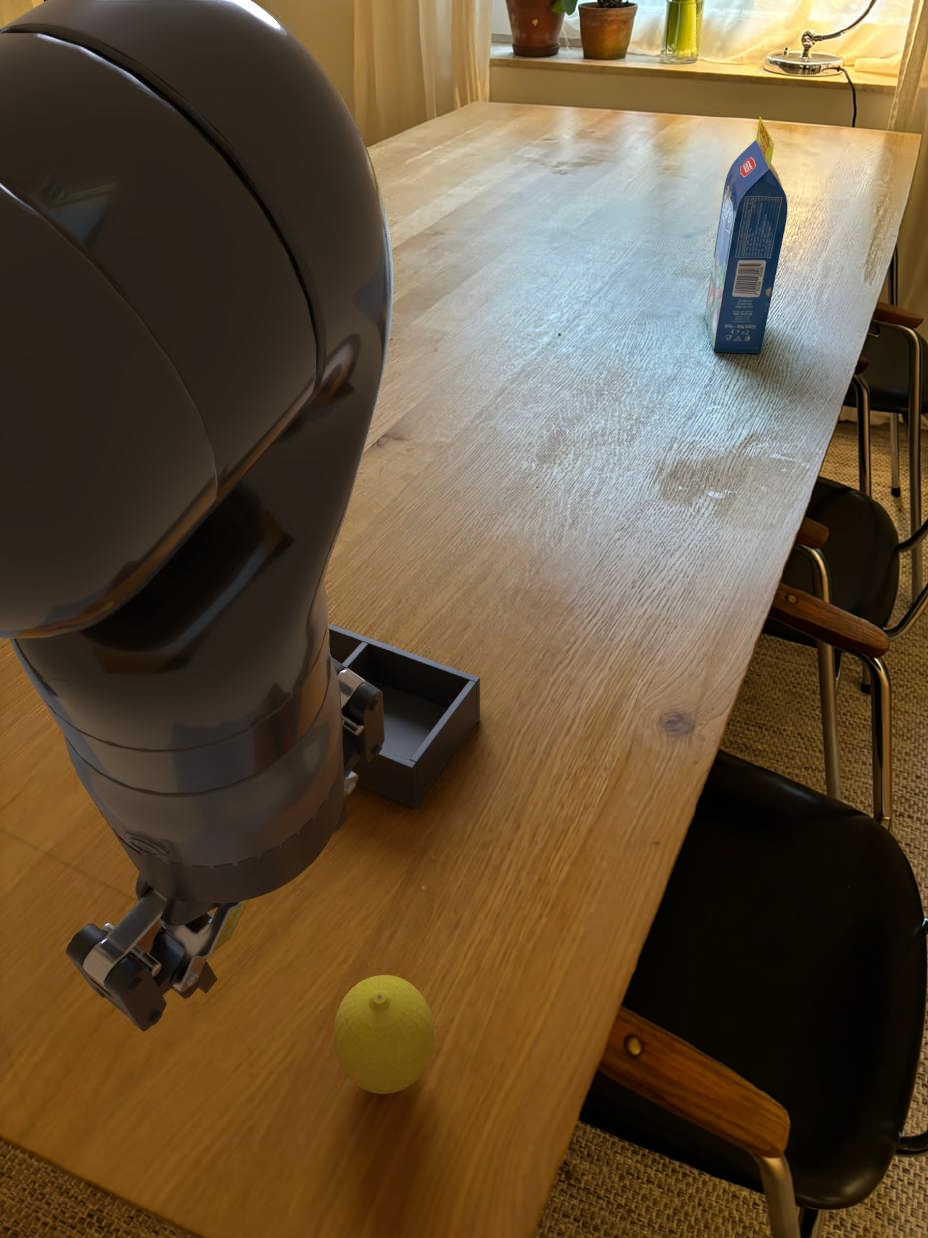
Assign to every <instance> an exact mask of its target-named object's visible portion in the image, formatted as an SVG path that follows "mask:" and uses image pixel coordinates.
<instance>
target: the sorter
mask: <svg viewBox="0 0 928 1238" xmlns="http://www.w3.org/2000/svg"><path fill="white" fill-rule="evenodd" d="M328 624H329V644H330V655H331V657H332V658H333V659H335V660H336V661H338V662H339V663H341V664H342V665H344V666H345V667H347V668H348V669H350V670H351V671H352V672H354V673H355V674H357V675H358V676H360V677H361V678H363V679H364V680H366V681H367V682H369V683H370V684H371V685H373V686H374V687H376V688H377V689H379V690H380V691H382V692H383V710H384V736H385V740H384V743H383V745H382V750H381V751H380V753H379V754H378V755H377V756H374V758H373V759H371V760H370V761H367V760H365V759H364V758H362V757H360V759H359V760H358V762H357V763H356V765H355V766H354V768H353V770H352V771H353V772H354V773H355V774H357V775H358V780H357V782H356V786H359V787H361V788H364V789H365V790H367V791H370V792H373V793H375V794H377V795H379V796H382V797H384V798H387V799H390V800H392V801H394V802H396V803H399V804H401V805H404V806H406V807H408V808H411V809H413V810H416V809H417V808H418V806H419V805H420V804H421V802H422V801H423V799H424V798H425V796H426V795H427V794H428V792H429V791H430V790H431V788H432V787H433V785H434V784H435V783H436V781H437V780H438V778H439V777H440V775H441V774H442V773H443V771H444V770H445V768H446V767H447V766H448V764H449V763H450V761H451V760H452V759H453V757H454V756H455V754H456V753H457V752H458V750H459V749H460V747H461V746H462V745H463V743H464V742H465V741H466V739H467V738H468V737H469V736H470V733H471V732H472V731H473V729H474V728H475V727H476V725H477V723H478V722H479V721H480V720H481V677H480V676H476V675H473V674H472V673H468V672H465V671H462V670H460V669H456V668H455V667H451V666H449V665H445V664H443V663H441V662H438V661H436V660H435V661H434V660H432V659H429V658H426V657H424V656H421V655H418V654H415V653H413V652H411V651H406V650H404V649H401V648H399V647H396V646H394V645H390V644H387V643H384V642H382V641H379V640H376V639H373V638H371V637H368V636H366V635H362V634H359V633H357V632H354V631H351V630H348V629H345V628H343V627H341V626H338V625H335V624H331V623H329V622H328Z"/></svg>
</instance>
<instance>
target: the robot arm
mask: <svg viewBox="0 0 928 1238" xmlns="http://www.w3.org/2000/svg"><path fill="white" fill-rule="evenodd" d="M386 211H387V210H386V204H385V200H384V197H383V194H382V189H381V186H380V181H379V179H378V176H377V173H376V171H375V167H374V165H373V161H372V159H371V156H370V154H369V150H368V147H367V145H366V142H365V140H364V138H363V135H362V133H361V131H360V128H359V127H358V124H357V121H356V119H355V117H354V116H353V114H352V112H351V110H350V108H349V107H348V105H347V103H346V101H345V99H344V98H343V96H342V95H341V93H340V92H339V90H338V88H337V87H336V86H335V84H334V82H333V81H332V79H331V78H330V76H329V75H328V74H327V72H326V71H325V69H324V68H323V67H322V65H321V63H319V61H318V60H317V59H316V58H315V56H314V54H312V52H311V51H310V50H309V48H307V46H306V45H305V44H304V43H303V42H302V41H301V39H299V38H298V37H297V36H296V34H294V33H293V31H292V30H291V29H290V28H289V27H288V26H287V25H286V24H284V23H283V22H282V21H281V20H279V19H278V18H277V17H276V16H275V15H273V14H272V13H271V12H270V11H268V10H267V9H265V8H264V7H262V6H261V5H259V4H257V3H256V2H255V1H253V0H45V1H44V2H41V3H40V4H38V5H36V6H34V7H33V8H31V9H29V10H28V11H26V12H25V13H23V14H22V15H20V16H19V17H17V18H15V19H13V20H12V21H10V22H9V23H7V24H6V25H4V26H2V27H1V28H0V639H3V640H4V639H7V640H8V639H9V642H10V645H11V648H12V650H13V652H14V654H15V655H16V657H17V659H18V661H19V663H20V665H21V667H22V669H23V670H24V672H25V674H26V675H27V677H28V679H29V680H30V682H31V683H32V685H33V687H34V689H35V691H36V692H37V693H38V695H39V696H40V698H41V700H42V702H43V703H44V706H45V707H46V708H47V710H48V711H49V713H50V715H51V716H52V718H53V719H54V721H55V723H56V724H57V726H58V728H59V729H60V731H61V732H62V736H63V740H64V744H65V746H66V750H67V754H68V757H69V759H70V762H71V764H72V766H73V768H74V771H75V773H76V775H77V777H78V779H79V781H80V783H81V784H82V786H83V787H84V789H85V790H86V792H87V793H88V795H89V797H90V798H91V800H92V802H93V804H94V805H95V806H96V808H97V809H98V811H99V812H100V814H101V816H102V817H103V819H104V820H105V822H106V823H107V825H108V827H109V828H110V829H111V831H112V833H113V834H114V835H115V838H116V839H117V840H118V842H119V844H120V845H121V847H122V848H123V850H124V851H125V853H126V855H127V856H128V857H129V859H130V861H131V862H132V864H133V865H134V867H135V868H136V870H137V871H138V875H137V879H136V883H135V895H136V898H137V903H136V904H135V905H134V906H132V908H131V909H129V910H128V912H127V913H126V914H125V915H124V916H123V917H122V919H121V920H120V921H119V922H117V924H116V925H114V924H113V923H112V922H106V923H105V924H103V926H101V927H99V926H97V925H96V924H95V923H94V922H91V923H88V924H86V925H85V926H83V927H82V928H81V929H79V930H78V931H76V933H75V934H74V935H73V937H72V938H71V939H70V941H69V943H68V945H67V947H66V949H65V954H66V956H67V957H68V958H69V960H70V961H71V962H72V964H73V965H74V967H75V968H76V969H77V971H78V972H79V973H80V975H81V976H82V977H83V979H84V980H85V981H86V982H87V984H88V985H89V987H90V988H91V989H92V991H93V992H95V993H96V994H97V995H98V996H100V997H101V998H102V999H106V1000H107V1001H108V1002H109V1003H111V1004H112V1005H113V1007H115V1008H116V1009H118V1010H119V1011H120V1012H121V1013H122V1014H123V1015H124V1016H126V1017H127V1018H128V1019H129V1020H130V1021H131V1022H132V1024H133V1025H134V1026H135V1027H137V1028H138V1029H139V1030H140V1031H141V1032H143V1033H144V1032H147V1031H148V1030H149V1029H150V1028H152V1027H153V1026H155V1025H156V1024H157V1023H159V1021H160V1020H161V1019H162V1017H163V1016H164V1015H163V1013H164V1011H165V1009H166V1007H167V1005H168V1003H167V1001H166V999H165V997H164V995H166V993H167V992H169V991H170V990H172V991H174V992H175V993H176V994H178V995H179V996H180V997H181V998H182V999H184V1000H186V999H189V998H191V997H192V996H193V994H194V993H196V991H197V990H198V989H199V990H200V991H202V992H203V993H204V994H207V993H208V992H209V991H210V990H211V989H212V987H214V985H215V984H216V983H217V981H218V977H217V976H216V974H215V972H214V971H213V969H212V967H211V966H210V964H209V962H208V961H207V960H208V958H209V957H210V956H211V955H213V954H214V953H215V952H216V951H218V950H219V949H220V948H221V947H222V946H223V945H225V944H226V943H227V942H228V941H229V940H230V939H231V938H232V936H233V934H234V932H235V930H236V927H237V925H238V923H239V921H240V919H241V916H242V915H243V913H244V911H245V908H246V906H247V904H248V902H249V900H253V899H256V898H259V897H263V896H265V895H268V894H270V893H272V892H274V891H277V890H279V889H280V888H283V887H285V886H286V885H288V884H289V883H290V882H292V881H293V880H295V879H296V878H298V877H299V876H300V875H302V874H303V873H304V872H305V871H306V870H307V869H308V868H309V867H310V866H311V865H313V863H314V862H315V861H316V860H317V858H319V857H320V855H321V853H322V852H323V851H324V850H325V848H326V847H327V845H328V843H329V842H330V841H331V838H332V837H333V834H334V833H337V832H339V831H340V829H342V827H343V825H344V824H345V823H346V822H347V821H348V803H349V801H350V795H351V794H352V793H353V791H354V790H355V789H356V787H357V785H356V782H357V780H358V775H357V774H355V773H354V772H353V771H352V770H353V768H354V766H355V765H356V763H357V762H358V760H359V759H360V757H362V758H364V759H365V760H367V761H370V760H371V759H373V758H374V756H377V755H378V754H379V753H380V751H381V750H382V745H383V743H384V740H385V736H384V710H383V692H382V691H380V690H379V689H377V688H376V687H374V686H373V685H371V684H370V683H369V682H367V681H366V680H364V679H363V678H361V677H360V676H358V675H357V674H355V673H354V672H352V671H351V670H350V669H348V668H347V667H345V666H344V665H342V664H341V663H339V662H338V661H336V660H335V659H333V658H332V657H331V655H330V644H329V624H330V623H329V609H328V608H329V607H328V596H327V595H328V594H327V590H326V584H325V581H326V576H327V573H328V572H327V571H328V569H329V568H328V567H329V564H330V562H331V561H330V560H331V558H332V554H333V552H334V550H335V546H336V544H337V542H338V541H337V540H338V538H339V536H340V533H341V530H342V527H343V524H344V521H345V519H346V516H347V513H348V510H349V507H350V504H351V499H352V495H353V493H354V488H355V484H356V480H357V476H358V473H359V469H360V466H361V461H362V458H363V455H364V451H365V447H366V443H367V441H368V436H369V433H370V429H371V425H372V422H373V417H374V414H375V410H376V407H377V402H378V399H379V393H380V390H381V385H382V380H383V376H384V372H385V366H386V363H387V362H386V361H387V356H388V351H389V344H390V338H391V330H392V318H393V317H392V316H393V301H394V264H393V263H394V262H393V251H392V242H391V234H390V228H389V221H388V216H387V212H386ZM328 623H329V624H328ZM213 910H215V912H214V914H212V913H210V912H211V911H213Z"/></svg>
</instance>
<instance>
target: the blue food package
mask: <svg viewBox="0 0 928 1238" xmlns="http://www.w3.org/2000/svg"><path fill="white" fill-rule="evenodd" d="M758 118H759V119H758V124H757V130H756V136H755V139H754V141H753V142H752V143H751V144H749V146H747V147H746V148H745V149H744V150H743V151H742V152H741V153H740V154H739V156H737V157H736V159H735V160H734V161H733V162H732V164H731V166H730V167H729V170H728V172H727V175H726V177H725V181H724V185H723V192H722V197H721V204H720V211H719V217H718V224H717V230H716V237H715V244H714V250H713V257H712V262H711V263H712V264H711V269H710V276H709V283H708V289H707V295H706V302H705V309H704V314H705V325H706V326H707V332H708V339H709V342H710V344H711V347H712V349H713V350H712V351H713V352H715V353H731V354H733V353H734V354H760V353H761V352H762V348H763V344H764V343H763V342H764V339H765V333H766V327H767V323H768V317H769V312H770V307H771V303H772V302H771V301H772V297H773V291H774V287H775V283H776V282H775V281H776V276H777V271H778V266H779V261H780V256H781V251H782V246H783V240H784V235H785V230H786V225H787V219H788V197H787V194H786V192H785V190H784V188H783V185H782V181H781V179H780V177H779V174H778V171H777V170H776V168H775V166H774V165H773V164H772V160H773V153H774V149H775V143H774V140H773V139H772V137H771V135H770V133H769V131H768V128H767V126H766V125H765V123H764V121H763V119H762V117H761V116H759V117H758Z"/></svg>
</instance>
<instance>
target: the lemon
mask: <svg viewBox="0 0 928 1238" xmlns="http://www.w3.org/2000/svg"><path fill="white" fill-rule="evenodd" d="M336 1011H337V1012H336V1014H335V1018H334V1019H335V1020H334V1025H333V1045H334V1046H333V1048H334V1052H335V1056H336V1058H337V1061H338V1065H339V1066H340V1069H342V1071H343V1072H344V1074H345V1076H347V1078H348V1079H349V1080H350V1081H351V1082H352V1083H354V1084H355V1085H356V1086H357V1087H359V1088H360V1089H362V1090H365V1091H367V1092H369V1093H373V1094H379V1095H387V1094H395V1093H397V1092H400V1091H403V1090H405V1089H407V1088H409V1086H411V1085H413V1084H414V1083H416V1081H418V1079H419V1078H420V1077H421V1076H422V1075H423V1074H424V1073H425V1070H426V1069H427V1067H428V1065H429V1063H430V1061H431V1060H432V1059H431V1058H432V1055H433V1051H434V1048H435V1042H436V1039H435V1022H434V1018H433V1015H432V1011H431V1009H430V1006H429V1005H428V1002H427V1001H426V998H425V997H424V996H423V995H422V993H421V992H420V990H418V989H417V988H416V987H415V986H414V985H413V984H412V983H411V982H409V981H407V980H405V979H404V978H402V977H399V976H396V975H391V974H378V975H374V976H369V977H368V978H365V979H363V980H360V981H359V982H358V983H357V984H355V985H354V986H353V987H352V988H350V990H349V991H348V992H347V993H346V995H345V996H344V998H343V999H342V1000H341V1003H340V1005H339V1007H338V1008H337V1010H336Z"/></svg>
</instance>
